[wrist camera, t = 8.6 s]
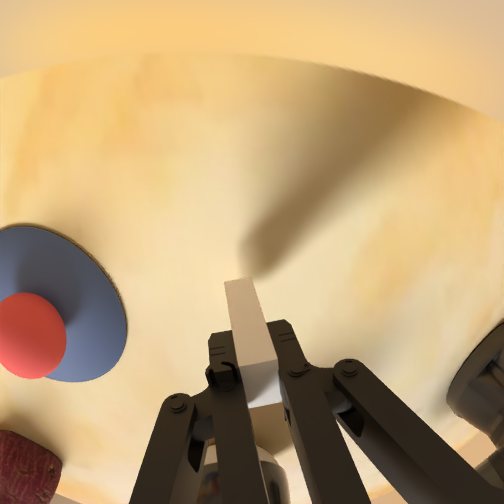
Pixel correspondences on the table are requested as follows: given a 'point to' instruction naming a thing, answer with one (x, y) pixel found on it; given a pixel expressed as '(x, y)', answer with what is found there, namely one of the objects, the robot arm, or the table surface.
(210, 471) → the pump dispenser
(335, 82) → the table surface
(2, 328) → the ball
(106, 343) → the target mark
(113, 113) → the table surface
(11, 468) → the vegetable
